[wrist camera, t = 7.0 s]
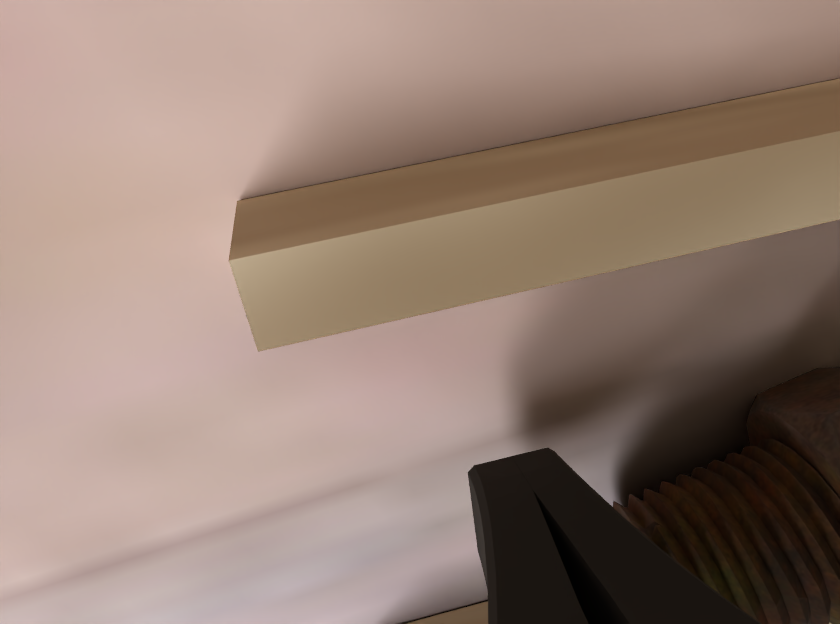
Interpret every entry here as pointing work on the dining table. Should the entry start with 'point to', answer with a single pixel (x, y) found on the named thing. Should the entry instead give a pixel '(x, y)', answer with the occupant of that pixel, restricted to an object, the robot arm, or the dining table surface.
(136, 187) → the dining table surface
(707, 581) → the bolt
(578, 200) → the guide channel
